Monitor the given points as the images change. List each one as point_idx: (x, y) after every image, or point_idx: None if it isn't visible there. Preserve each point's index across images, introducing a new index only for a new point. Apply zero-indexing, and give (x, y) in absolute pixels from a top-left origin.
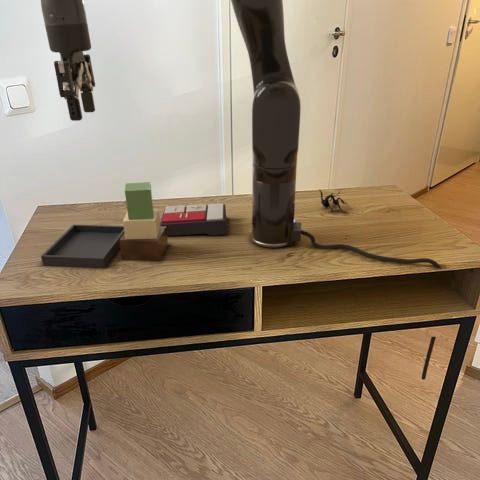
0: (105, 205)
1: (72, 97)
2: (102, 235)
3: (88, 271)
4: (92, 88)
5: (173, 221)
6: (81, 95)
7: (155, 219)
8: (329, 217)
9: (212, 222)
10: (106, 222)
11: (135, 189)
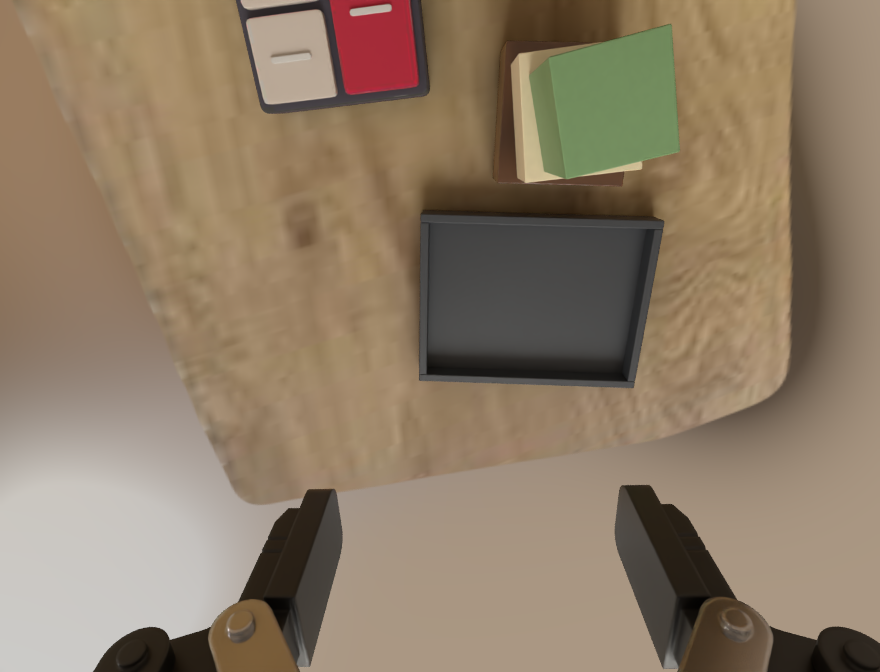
0: (199, 351)
1: (803, 638)
2: (451, 285)
3: (670, 254)
4: (251, 620)
5: (414, 36)
6: (315, 644)
7: None
8: None
9: None
10: (334, 307)
11: (661, 104)
